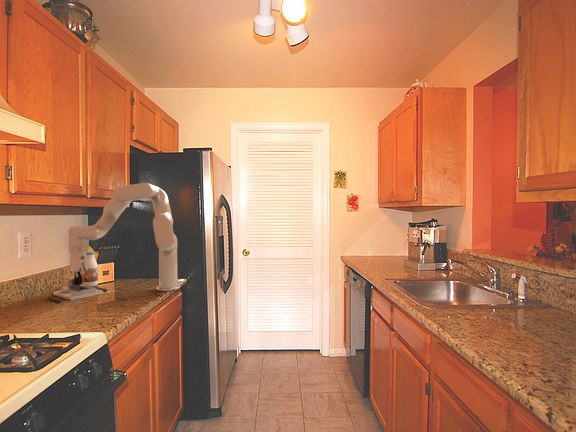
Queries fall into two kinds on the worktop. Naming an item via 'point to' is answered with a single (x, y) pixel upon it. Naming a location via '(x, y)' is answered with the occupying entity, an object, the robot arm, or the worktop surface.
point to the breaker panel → (77, 292)
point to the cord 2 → (100, 289)
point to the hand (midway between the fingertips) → (78, 284)
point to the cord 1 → (55, 299)
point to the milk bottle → (90, 271)
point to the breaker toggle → (71, 284)
